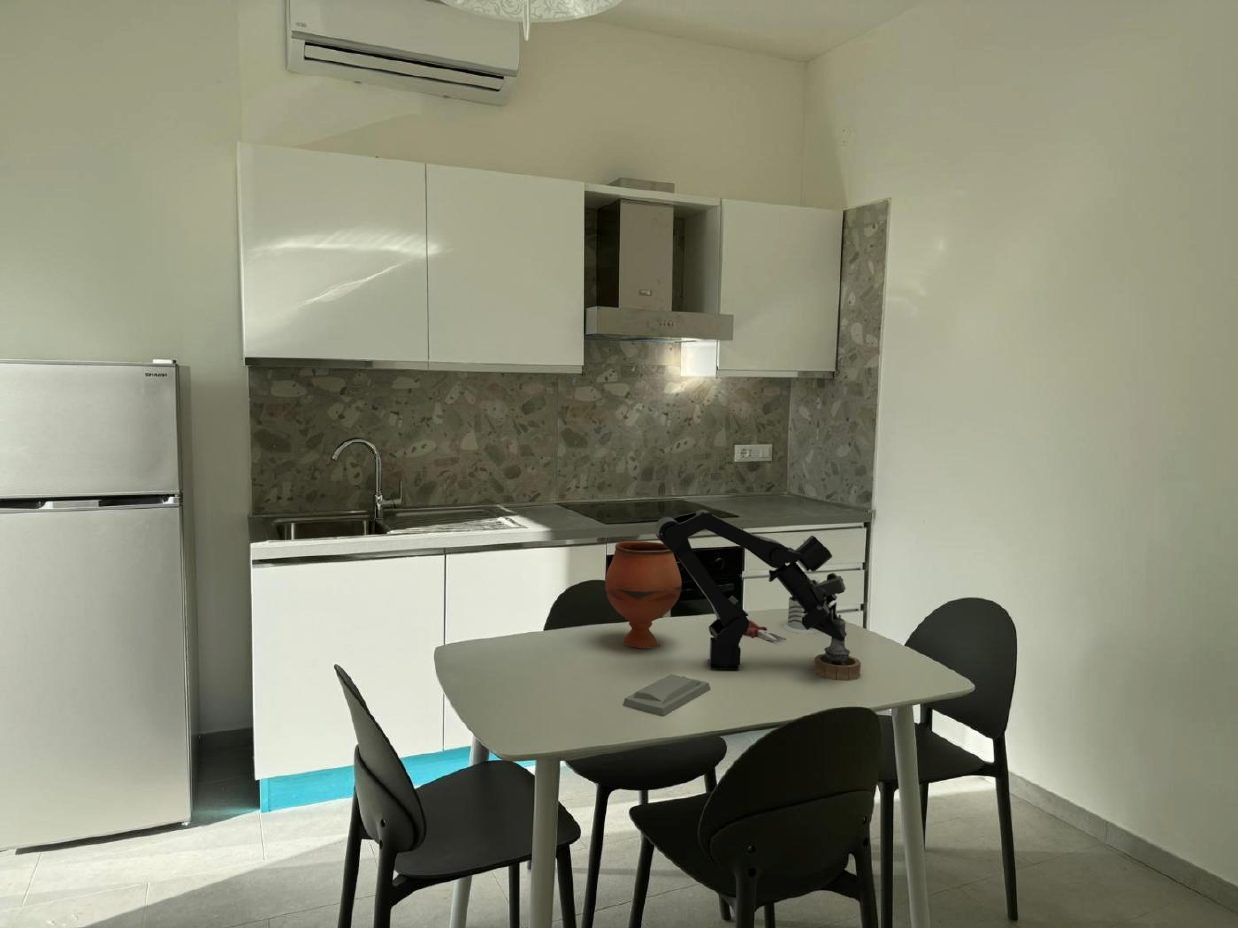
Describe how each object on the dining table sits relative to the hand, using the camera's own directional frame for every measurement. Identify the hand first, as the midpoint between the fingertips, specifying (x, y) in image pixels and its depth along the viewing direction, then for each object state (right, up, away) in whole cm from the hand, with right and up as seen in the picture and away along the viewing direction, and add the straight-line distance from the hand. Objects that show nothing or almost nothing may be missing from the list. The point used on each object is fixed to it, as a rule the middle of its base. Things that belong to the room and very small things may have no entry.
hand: (844, 638), depth 206 cm
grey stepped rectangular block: (-42, -9, -19) cm, 47 cm away
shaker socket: (-1, -8, +1) cm, 8 cm away
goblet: (-46, -5, +19) cm, 50 cm away
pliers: (-18, -6, +32) cm, 37 cm away
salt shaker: (-2, -7, +1) cm, 7 cm away
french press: (-1, -5, +38) cm, 38 cm away
